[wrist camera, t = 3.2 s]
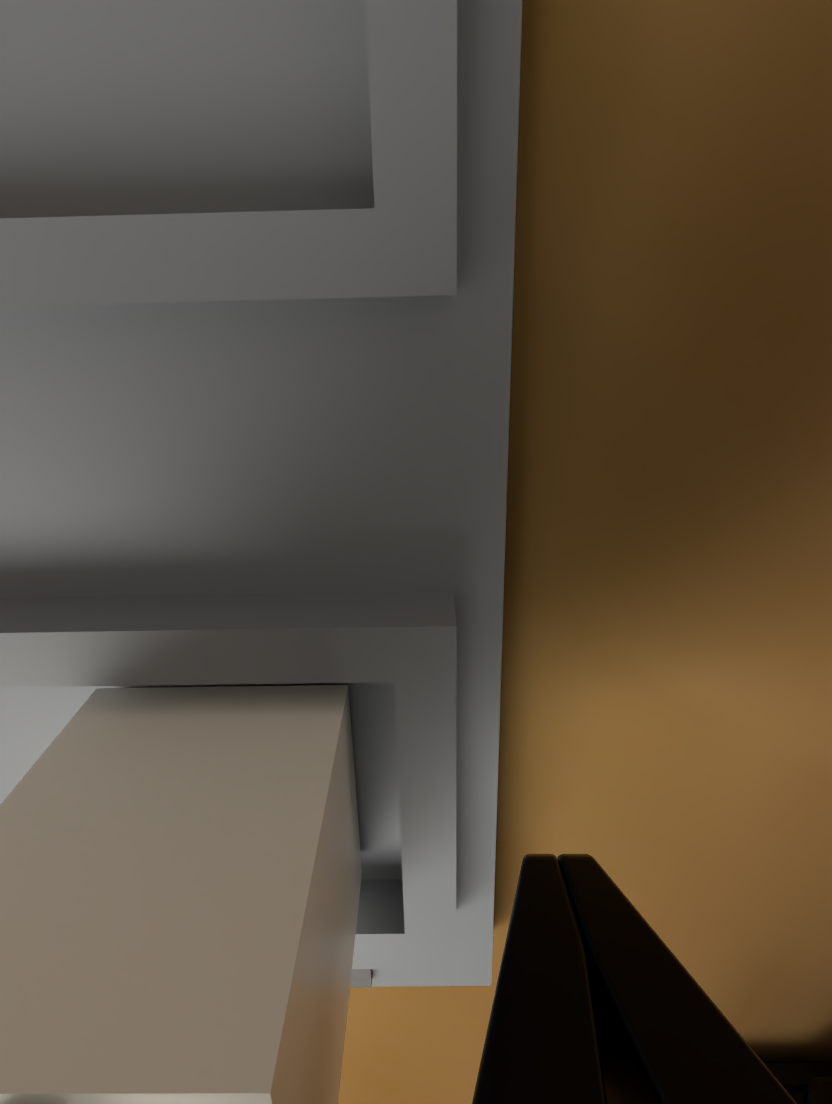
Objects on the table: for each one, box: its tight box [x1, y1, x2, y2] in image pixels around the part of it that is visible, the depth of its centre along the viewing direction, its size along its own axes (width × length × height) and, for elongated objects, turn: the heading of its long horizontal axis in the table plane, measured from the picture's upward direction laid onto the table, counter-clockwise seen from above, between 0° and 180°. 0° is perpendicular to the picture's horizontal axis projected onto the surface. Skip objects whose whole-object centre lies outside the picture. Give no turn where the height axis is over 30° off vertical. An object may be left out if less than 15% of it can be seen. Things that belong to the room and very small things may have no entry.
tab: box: [0, 685, 362, 1104], centre depth 7 cm, size 4×4×6 cm
